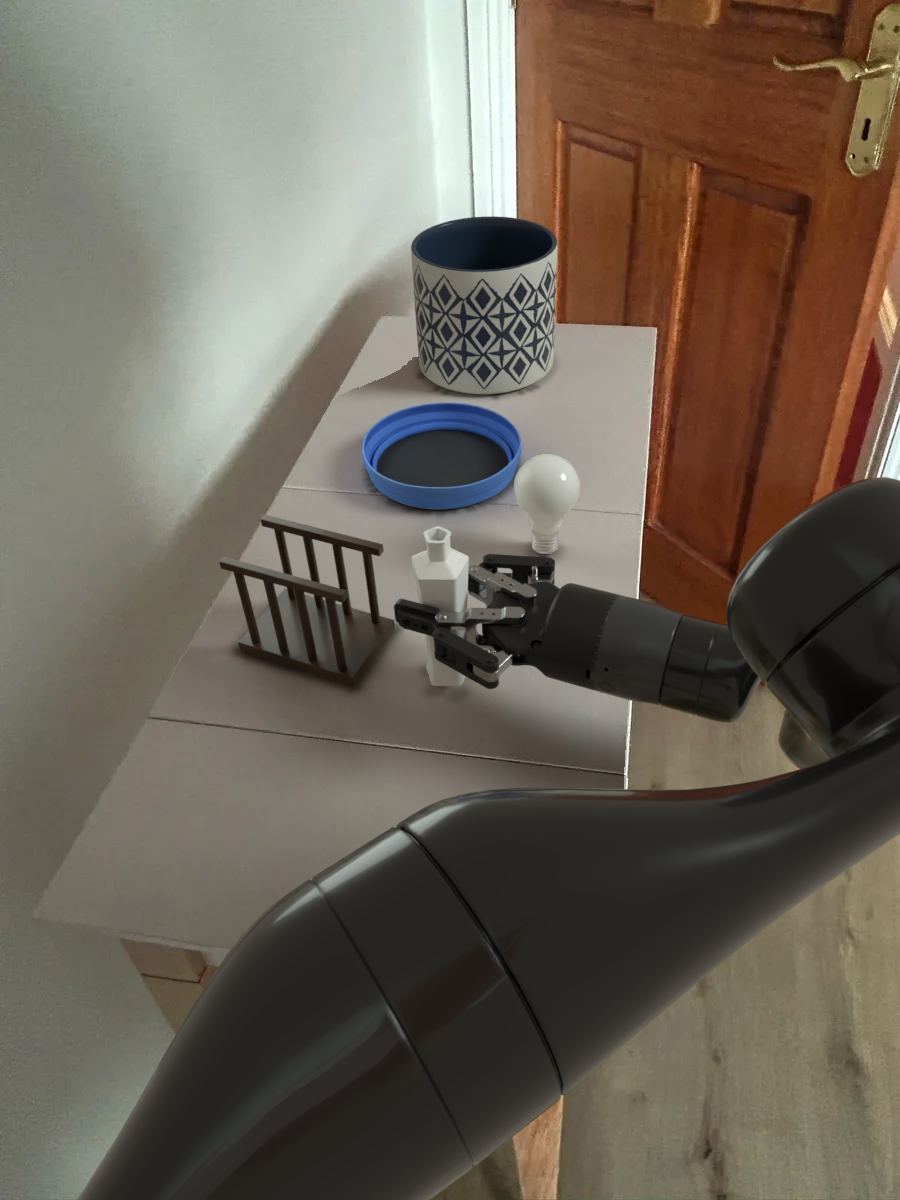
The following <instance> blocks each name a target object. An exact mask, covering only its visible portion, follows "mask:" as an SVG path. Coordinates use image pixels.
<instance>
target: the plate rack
mask: <svg viewBox="0 0 900 1200" xmlns="http://www.w3.org/2000/svg"><path fill="white" fill-rule="evenodd" d="M260 524H261V526H262V527H264V528H267V529H272V530H273V531H274V535H275V540H276V545H277V549H278V553H279V560H280V563H281V569H282V571H278V570H274V569H270V568H267V567H263V566H260V565H256V564H254V563H253V564H252V563H250V562H249V563H248V562H245V561H241V560H239V559H235V558H230V557H227V556H223V557H222V558H221V559H220V560H219V566H220V569H221V570H225V571H228V572H232V573H233V575H234V579H235V583H236V588H237V591H238V595H239V599H240V603H241V606H242V611H243V614H244V617H245V622H246V626H247V631H246V632H245V634H244V635H243V636H242V637H241V638H240V639H239V640H238V642H237V644H238V649H239V651H240V652H241V653H245V654H248V655H251V656H254V657H257V658H260V659H262V660H263V659H264V660H266V661H269V662H273V663H275V664H280V665H282V666H286V667H289V668H291V669H292V668H293V669H295V670H298V671H301V672H305V673H307V674H311V675H314V676H318V677H321V678H323V679H327V680H330V681H333V682H336V683H338V684H343V685H346V686H349V687H353V688H355V687H356V685H357V684H358V683H359V681H360V680H361V678H362V677H363V676H364V674H365V673H366V671H367V670H368V668H369V667H370V666H371V664H372V662H373V661H374V659H375V658H376V657H377V656H378V654H379V653H380V651H381V650H382V648H383V647H384V645H385V644H386V643H387V641H388V639H389V638H390V637H391V635H392V634H393V633H394V632H395V630H396V626H395V619H392V618H389V617H385V616H382V615H380V614H381V613H380V608H379V607H380V606H379V600H378V599H379V598H378V592H377V591H378V590H377V585H376V577H375V576H376V575H375V569H374V568H375V567H374V561H373V556H376V557H381V555H382V554H383V553H384V551H385V550H384V549H385V548H384V543H383V544H382V543H379V542H375V541H372V540H368V539H363V538H359V537H355V536H352V535H348V534H343V533H340V532H335V531H331V530H327V529H324V528H319V527H317V526H316V527H315V526H312V525H308V524H304V523H300V522H296V521H292V520H289V519H285V518H280V517H276V516H272V515H268V514H264V515H263V516H262V517H261V518H260ZM285 533H287V534H291V535H295V536H297V537H302V541H303V546H304V551H305V556H306V561H307V567H308V572H309V577H310V579H307V578H303V577H300V576H297V575H294V574H293V569H292V565H291V560H290V559H291V558H290V555H289V551H288V546H287V541H286V540H287V539H286V536H285ZM313 540H314V541H319V542H321V543H326V544H330V545H331V547H332V553H333V558H334V559H333V560H334V563H335V564H334V565H335V571H336V578H337V583H338V587H335V586H333V585H328V584H325V583H323V582H321V578H320V573H319V568H318V563H317V558H316V557H317V556H316V551H315V546H314V541H313ZM343 548H346V549H349V550H353V551H357V552H361V555H362V562H363V568H364V576H365V583H366V590H367V591H366V592H367V597H368V606H369V612H367V611H364V610H360V609H357V608H353V607H352V605H351V597H350V590H349V584H348V579H347V572H346V565H345V559H344V552H343ZM245 576H246V577H250V578H252V579H253V578H254V579H257V580H260V581H263V582H262V583H263V586H264V590H265V595H266V598H267V603H268V607H267V608H266V609H265V611H264V612H262V614H261V615H260V616H259V617H258V619H256V616H255V612H254V608H253V606H252V605H253V604H252V600H251V597H250V593H249V588H248V584H247V581H246V577H245ZM275 585H279V586H282V587H284V589H282V591H281V592H280V593H279V594H278V595H277V592H276V587H275ZM305 593H306V594H305ZM307 594H310V595H307ZM311 595H313V596H311ZM337 602H339V603H341V604H339V603H337Z"/></svg>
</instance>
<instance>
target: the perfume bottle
mask: <svg viewBox="0 0 900 1200" xmlns="http://www.w3.org/2000/svg"><path fill="white" fill-rule="evenodd" d="M422 534H423V537H424V540H425V549H426V550H423V551H420V552H418V553H415V554H414V555H412V556H411V557H410V559H411V560H410V561H411V565H412V572H413V576H414V577H413V578H414V582H415V587H416V593H417V598H418V603H420V604H424V605H428V606H431V607H435V608H439V610H440V612H466V611H467V609H468V595H469V593H468V569H469V566H470V556H468V555H467V554H464V553H463V552H460V551H458V550H456V549H454V548H452V547H451V535H452V531H451V530H449V529H447V528H444V527H442V526H440V525H438V526H437V525H436V526H434V527H432V528H429V529H427V530H424V532H423V533H422ZM452 630H466V629H465V628H464V627H452ZM424 635H425V641H426V646H427V652H428V658H427V661H426V666H425V668H426V672H427V675H428V678H429V681H430V684H431V685H432V686H434V687H460V686H462V685H463V682H464V681H465V679H466V678H467V677H466V676H464V675H462V674H461V673H459V672H457V671H455V670H454V669H452V668H450V667H448V666H447V665H445V664H443V663H441V662H439V661H438V660H436V659H435V653H434V651H435V648H434V640H433V637H432V636H429V635H426V634H424Z"/></svg>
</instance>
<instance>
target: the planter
mask: <svg viewBox="0 0 900 1200" xmlns="http://www.w3.org/2000/svg"><path fill="white" fill-rule="evenodd" d="M558 243H559V242H558V238H557V236H556V235H555V233H554V232H553V231H552V230H550V229H549V228H548V227H546V226H544V225H542V224H539V223H537V222H534V221H531V220H528V219H527V220H526V219H522V218H517V217H508V216H493V215H492V216H491V215H490V216H471V217H463V218H458V219H453V220H448V221H444V222H440V223H438V224H435V225H433V226H430V227H428V228H426V229H425V230H423V231H421V232H420V233H418V234H417V235H416V236H415V237H414V239H413V240H412V242H411V244H410V252H411V255H410V256H411V271H412V272H411V273H412V285H413V286H412V287H413V298H414V300H413V301H414V312H415V313H414V314H415V326H416V340H417V341H416V342H417V354H418V366H419V369H420V372H421V373H422V374H423V376H425V378H427V379H428V380H429V381H430V382H432V383H434V384H435V385H437V386H439V387H441V388H443V389H446V390H449V391H452V392H453V391H454V392H456V393H462V394H468V395H499V394H505V393H510V392H514V391H519V390H521V389H524V388H526V387H529V386H531V385H533V384H535V383H537V382H538V381H540V380H542V379H543V378H544V377H545V376H546V375H548V373H549V372H550V371H551V369H552V367H553V365H554V359H555V358H554V357H555V338H556V337H555V333H556V308H557V307H556V306H557V305H556V302H557V280H558V279H557V278H558Z"/></svg>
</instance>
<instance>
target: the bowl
mask: <svg viewBox="0 0 900 1200" xmlns="http://www.w3.org/2000/svg"><path fill="white" fill-rule="evenodd" d="M522 451H523V446H522V436H521V433H520V432H519V430H518V429H517V427H516V426H515V424H513V423H512V421H510V419H508V418H507V417H506V416H503V415H502V414H500V413H499V412H497V411H494V410H491V409H490V408H486V407H483V406H479V405H476V404H469V403H462V402H430V403H424V404H418V405H413V406H409V407H405V408H402V409H399V410H396V411H394V412H392V413H390V414H388V415H386V416H384V417H383V418H381V419H379V420H378V421H377V422H375V423H374V424H373V425H372V426H371V427H370V428H369V430H368V431H367V432H366V434H365V435H364V437H363V441H362V445H361V456H362V462H363V464H364V467H365V470H366V471H367V473H368V476H369V478H370V480H371V482H372V484H373V485H374V487H375V488H376V489H377V490H378V491H379V492H380V493H381V494H382V495H384V496H386V497H387V498H388V499H391V500H392V501H395V502H397V503H399V504H401V505H405V506H408V507H412V508H417V509H424V510H453V509H459V508H465V507H469V506H473V505H476V504H479V503H482V502H485V501H487V500H489V499H491V498H493V497H494V496H496V495H497V494H499V493H500V492H502V491H503V490H504V489H505V488H507V486H508V485H509V484H510V482H511V481H512V480H513V478H514V477H515V475H516V474H515V473H516V470H517V466H518V464H519V462H520V458H521V456H522Z"/></svg>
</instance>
